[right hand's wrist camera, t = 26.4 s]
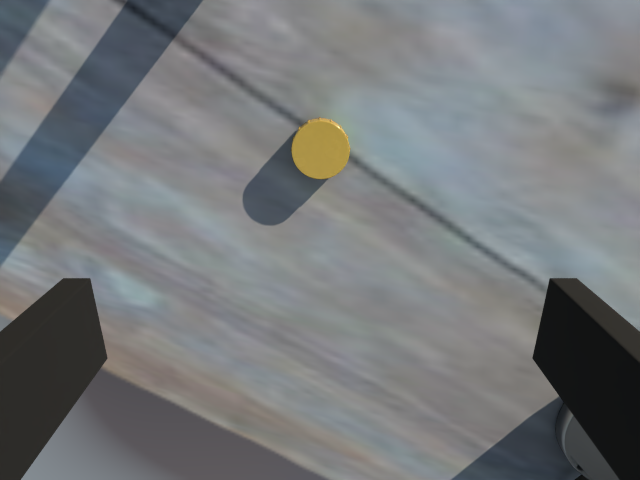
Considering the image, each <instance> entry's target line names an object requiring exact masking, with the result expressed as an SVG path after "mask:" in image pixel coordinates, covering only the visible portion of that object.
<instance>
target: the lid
mask: <svg viewBox="0 0 640 480" xmlns="http://www.w3.org/2000/svg"><path fill="white" fill-rule="evenodd" d="M347 138H348V136H347V135H346V134H345V132H344V131H343V129H342V127H341V125H340V126H339V125H338V124H337V123H335V122H333V121H332V120H331V119H330V120H329V119H323V118H320V117H319V118H317V119H313V120H310V121H309V120H308V122H306V123H304V124H303V125H302V126H301V127H299V129H298V131H297V132H296V134H295V136H293V139H292V140H293V143H292V148H291V151H292V158H293V161H294V163H295V165H296V166H297V168H298V169H299V170H300V171H301V172H302V173H303V174H305V175H306V176H308V177H311V178H314V179H327V178H330V177H333V176H335V175H336V174H338V173H339V172H340V171H341V170H342V169H343V168H344V167H345V165H346V163H347V161H348V158H349V152H350V146H349V142H348V139H347Z"/></svg>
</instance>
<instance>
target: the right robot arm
mask: <svg viewBox="0 0 640 480" xmlns="http://www.w3.org/2000/svg"><path fill="white" fill-rule="evenodd" d="M106 360H107V354H106V349H105V345H104V340H103V335H102V331H101V326H100V322H99V317H98V312H97V308H96V303H95V299H94V294H93V289H92V285H91V280H90V278H63V279H62V280H61V281H60V282H58V283H57V284H56V285H55V286H54V287H53V288H51V289H50V290H49V291H48V292H47V293H45V294H44V295H43V296H42V297H41V298H40V299H38V300H37V301H36V302H35V303H34V304H32V305H31V306H30V307H29V308H28V309H27V310H25V311H24V312H23V313H22V314H21V315H19V316H18V317H17V318H16V319H15V320H14V321H12V322H11V323H10V324H9V325H8V326H7V327H5V328H4V329H3V330H2V331H1V332H0V480H21V478H22V477H23V476H24V474H25V473H26V471H27V470H28V469H29V467H30V466H31V464H32V463H33V462H34V460H35V459H36V457H37V456H38V455H39V453H40V452H41V450H42V449H43V448H44V446H45V445H46V444H47V442H48V441H49V439H50V438H51V437H52V435H53V434H54V432H55V431H56V429H57V428H58V427H59V425H60V424H61V423H62V421H63V420H64V418H65V417H66V416H67V414H68V413H69V411H70V410H71V409H72V407H73V406H74V404H75V403H76V402H77V400H78V399H79V397H80V396H81V395H82V393H83V392H84V390H85V389H86V387H87V386H88V385H89V383H90V382H91V381H92V379H93V378H94V376H95V375H96V374H97V372H98V371H99V369H100V368H101V367H102V365H103V364H104V362H105V361H106ZM533 360H534V361H535V362H536V364H537V365H538V367H539V368H540V369H541V371H542V372H543V374H544V375H545V376H546V378H547V379H548V381H549V382H550V383H551V385H552V386H553V388H554V389H555V390H556V392H557V393H558V395H559V396H560V397H561V399H562V400H563V402H564V404H563V406H562V408H561V410H560V412H559V415H558V418H557V422H556V437H557V441H558V444H559V446H560V448H561V449H562V451H563V452H564V454H565V456H566V457H567V459H568V460H569V462H570V463H571V465H572V466H573V467H574V468H575V469H576V470H577V471H578V472H580V473H581V474H582V475H581V476H579V477H578V478H577V479H575V480H640V332H639V331H638V330H637V329H636V328H635V327H634V326H632V325H631V324H630V323H629V322H628V321H626V320H625V319H624V318H623V317H622V316H621V315H619V314H618V313H617V312H616V311H615V310H613V309H612V308H611V307H610V306H609V305H608V304H606V303H605V302H604V301H603V300H602V299H600V298H599V297H598V296H597V295H596V294H595V293H593V292H592V291H591V290H590V289H589V288H587V287H586V286H585V285H584V284H583V283H582V282H580V281H579V280H578V279H577V278H550V280H549V285H548V289H547V294H546V299H545V303H544V308H543V312H542V317H541V322H540V326H539V331H538V335H537V340H536V345H535V349H534V354H533Z"/></svg>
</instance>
